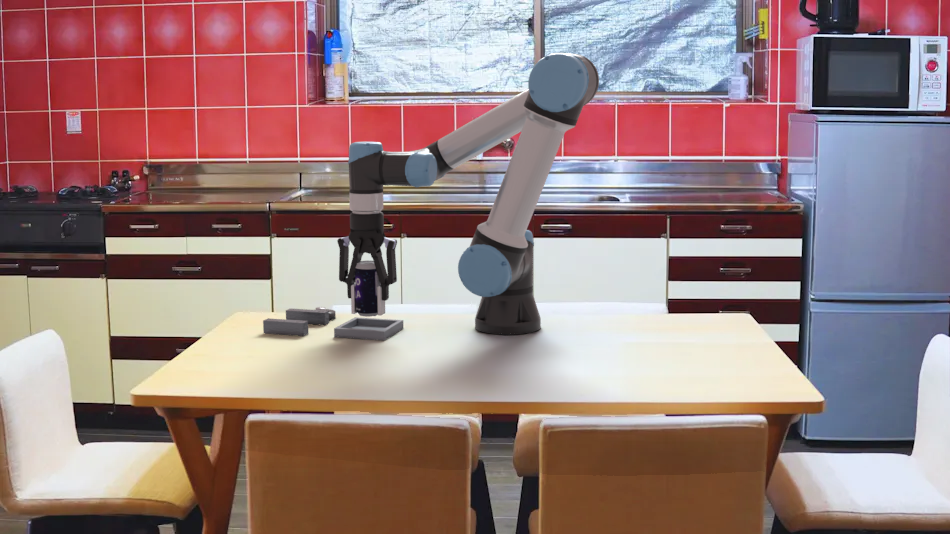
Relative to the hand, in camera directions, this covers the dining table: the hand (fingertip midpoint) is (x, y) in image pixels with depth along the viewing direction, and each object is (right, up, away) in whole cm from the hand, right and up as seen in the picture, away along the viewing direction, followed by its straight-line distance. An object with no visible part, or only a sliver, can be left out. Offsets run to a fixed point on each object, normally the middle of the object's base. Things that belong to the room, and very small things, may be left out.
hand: (368, 313), depth 249 cm
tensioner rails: (-16, -3, +9) cm, 19 cm away
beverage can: (0, -1, 0) cm, 1 cm away
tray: (0, -5, +1) cm, 5 cm away
